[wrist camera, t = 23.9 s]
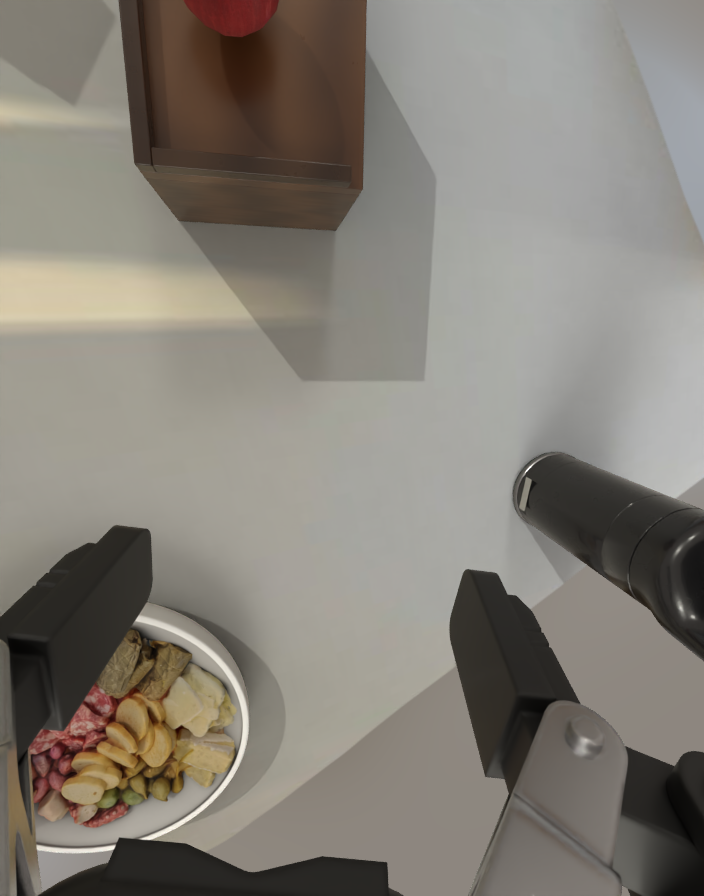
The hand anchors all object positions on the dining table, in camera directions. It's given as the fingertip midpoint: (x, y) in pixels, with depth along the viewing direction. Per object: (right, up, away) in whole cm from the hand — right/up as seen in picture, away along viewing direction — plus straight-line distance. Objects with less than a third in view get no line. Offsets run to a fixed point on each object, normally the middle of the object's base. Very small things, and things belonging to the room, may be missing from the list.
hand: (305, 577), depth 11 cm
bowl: (-26, -25, +37) cm, 52 cm away
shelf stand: (-7, +32, +26) cm, 42 cm away
